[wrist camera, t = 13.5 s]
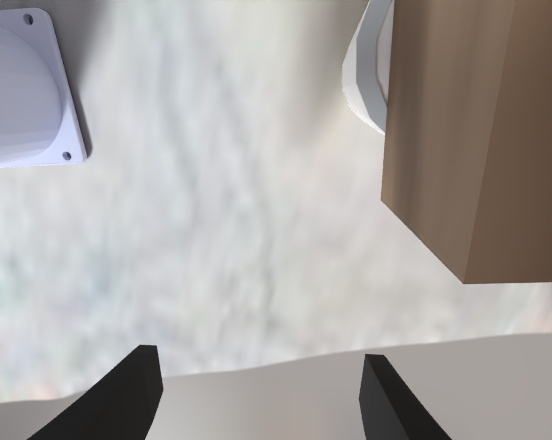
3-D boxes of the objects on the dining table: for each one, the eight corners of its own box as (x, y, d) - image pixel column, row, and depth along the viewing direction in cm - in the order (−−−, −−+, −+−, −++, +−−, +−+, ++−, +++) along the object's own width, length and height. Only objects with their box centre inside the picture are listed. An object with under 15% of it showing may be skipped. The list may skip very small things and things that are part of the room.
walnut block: (380, 200, 12) (463, 283, 6) (404, -150, 8) (639, -671, 3) (501, 195, 12) (701, 279, 6) (577, -167, 8) (1220, -779, 3)
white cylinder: (378, -33, 15) (447, -141, 8) (487, 44, 16) (626, -1, 9) (305, 99, 17) (316, 94, 11) (405, 159, 18) (471, 189, 12)
